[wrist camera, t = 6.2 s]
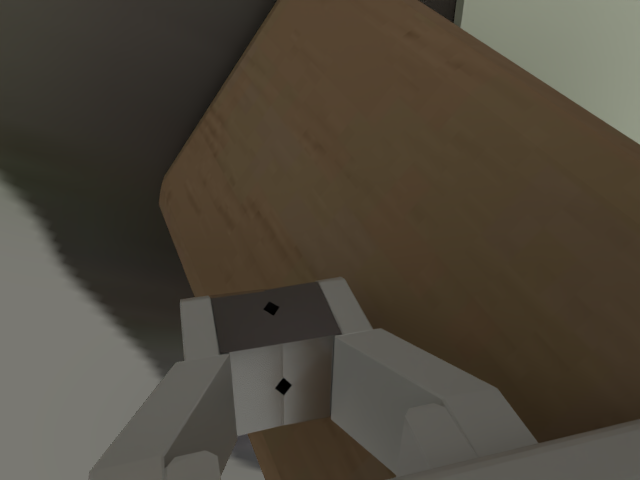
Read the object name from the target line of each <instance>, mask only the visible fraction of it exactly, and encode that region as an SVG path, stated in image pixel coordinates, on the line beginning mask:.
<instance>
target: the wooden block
mask: <svg viewBox="0 0 640 480" xmlns="http://www.w3.org/2000/svg"><path fill="white" fill-rule="evenodd" d="M159 206H160V209H161V212H162V214H163V217H164V219H165V222H166V224H167V227H168V230H169V232H170V235H171V237H172V240H173V243H174V245H175V248H176V250H177V253H178V255H179V258H180V261H181V263H182V266H183V268H184V271H185V274H186V276H187V279H188V281H189V284H190V286H191V289H192V292H193V294H194V297H201V296H209V297H210V295H217V294H226V293H234V292H242V291H251V290H259V289H271V288H277V287H284V286H291V285H297V284H304V283H310V282H315V281H318V280H324V279H330V278H336V277H342V278H344V279H345V280H346V282H347V284H348V285H349V287H350V289H351V291H352V292H353V294H354V296H355V298H356V300H357V301H358V303H359V305H360V307H361V308H362V310H363V312H364V314H365V315H366V317H367V319H368V321H369V323H370V324H371V326H372V328H373V329H379V328H382V329H383V330H385V331H387V332H389V333H391V334H393V335H395V336H397V337H399V338H401V339H403V340H405V341H407V342H409V343H411V344H413V345H414V346H416V347H418V348H420V349H422V350H424V351H426V352H428V353H430V354H432V355H434V356H436V357H438V358H440V359H442V360H444V361H445V362H447V363H449V364H451V365H453V366H455V367H457V368H459V369H461V370H463V371H465V372H467V373H469V374H471V375H473V376H475V377H476V378H478V379H480V380H482V381H484V382H486V383H488V384H490V385H492V386H494V387H496V388H498V390H499V391H500V392H501V394H502V395H503V396H504V398H505V399H506V400H507V402H508V403H509V404H510V406H511V407H512V408H513V410H514V411H515V412H516V414H517V415H518V416H519V418H520V419H521V420H522V422H523V423H524V424H525V426H526V427H527V428H528V430H529V431H530V432H531V434H532V435H533V436H534V438H535V439H536V440H537V442H538V443H541V442H545V441H549V440H554V439H558V438H562V437H566V436H570V435H574V434H579V433H583V432H587V431H591V430H595V429H599V428H604V427H608V426H612V425H616V424H620V423H624V422H628V421H633V420H637V419H640V144H638V143H637V142H635V141H634V140H632V139H630V138H629V137H627V136H626V135H624V134H623V133H621V132H620V131H618V130H617V129H615V128H614V127H612V126H610V125H609V124H607V123H606V122H604V121H603V120H601V119H600V118H598V117H597V116H595V115H594V114H592V113H591V112H589V111H587V110H586V109H584V108H583V107H581V106H580V105H578V104H577V103H575V102H574V101H572V100H571V99H569V98H567V97H566V96H564V95H563V94H561V93H560V92H558V91H557V90H555V89H554V88H552V87H551V86H549V85H547V84H546V83H544V82H543V81H541V80H540V79H538V78H537V77H535V76H534V75H532V74H531V73H529V72H527V71H526V70H524V69H523V68H521V67H520V66H518V65H517V64H515V63H514V62H512V61H511V60H509V59H508V58H506V57H504V56H503V55H501V54H500V53H498V52H497V51H495V50H494V49H492V48H491V47H489V46H488V45H486V44H484V43H483V42H481V41H480V40H478V39H477V38H475V37H474V36H472V35H471V34H469V33H468V32H466V31H464V30H463V29H461V28H460V27H458V26H457V25H455V24H454V23H452V22H451V21H449V20H448V19H446V18H444V17H443V16H441V15H440V14H438V13H437V12H435V11H434V10H432V9H431V8H429V7H428V6H426V5H424V4H423V3H421V2H420V1H418V0H277V1H276V3H275V4H274V6H273V8H272V9H271V11H270V12H269V14H268V15H267V17H266V18H265V20H264V22H263V23H262V25H261V26H260V28H259V29H258V31H257V32H256V34H255V36H254V37H253V39H252V40H251V42H250V43H249V45H248V46H247V48H246V50H245V51H244V53H243V54H242V56H241V57H240V59H239V60H238V62H237V64H236V65H235V67H234V68H233V70H232V71H231V73H230V75H229V76H228V78H227V79H226V81H225V82H224V84H223V85H222V87H221V89H220V90H219V92H218V93H217V95H216V96H215V98H214V99H213V101H212V103H211V104H210V106H209V107H208V109H207V110H206V112H205V113H204V115H203V117H202V118H201V120H200V121H199V123H198V124H197V126H196V127H195V129H194V131H193V132H192V134H191V135H190V137H189V138H188V140H187V142H186V143H185V145H184V146H183V148H182V149H181V151H180V152H179V154H178V156H177V157H176V159H175V160H174V162H173V163H172V165H171V166H170V168H169V170H168V171H167V173H166V174H165V176H164V178H163V182H162V185H161V191H160V198H159ZM248 436H249V439H250V441H251V444H252V447H253V449H254V452H255V454H256V457H257V459H258V462H259V465H260V467H261V470H262V472H263V475H264V478H265V480H387V479H391V478H395V477H396V475H395V474H394V473H393V472H392V471H391V470H390V469H388V468H387V467H386V466H385V465H384V464H383V463H381V462H380V461H379V460H378V459H377V458H376V457H374V456H373V455H372V454H371V453H370V452H369V451H367V450H366V449H365V448H364V447H363V446H362V445H360V444H359V443H358V442H357V441H356V440H355V439H353V438H352V437H351V436H350V435H349V434H348V433H346V432H345V431H344V430H343V429H342V428H341V427H339V426H338V425H337V424H336V423H335V422H334V421H332V420H331V417H328V418H322V419H316V420H311V421H305V422H299V423H294V424H288V425H283V426H278V427H274V428H270V429H265V430H261V431H257V432H252V433H248Z"/></svg>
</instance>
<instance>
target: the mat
mask: <svg viewBox="0 0 640 480" xmlns="http://www.w3.org/2000/svg"><path fill="white" fill-rule="evenodd" d="M454 24H455V25H457V26H458V27H460V28H461V29H463V30H464V31H466V32H468V33H469V34H471V35H472V36H474V37H475V38H477V39H478V40H480V41H481V42H483V43H484V44H486V45H488V46H489V47H491V48H492V49H494V50H495V51H497V52H498V53H500V54H501V55H503V56H504V57H506V58H508V59H509V60H511V61H512V62H514V63H515V64H517V65H518V66H520V67H521V68H523V69H524V70H526V71H527V72H529V73H531V74H532V75H534V76H535V77H537V78H538V79H540V80H541V81H543V82H544V83H546V84H547V85H549V86H551V87H552V88H554V89H555V90H557V91H558V92H560V93H561V94H563V95H564V96H566V97H567V98H569V99H571V100H572V101H574V102H575V103H577V104H578V105H580V106H581V107H583V108H584V109H586V110H587V111H589V112H591V113H592V114H594V115H595V116H597V117H598V118H600V119H601V120H603V121H604V122H606V123H607V124H609V125H610V126H612V127H614V128H615V129H617V130H618V131H620V132H621V133H623V134H624V135H626V136H627V137H629V138H630V139H632V140H634V141H635V142H637V143H638V144H640V0H457V1H456V9H455V16H454Z"/></svg>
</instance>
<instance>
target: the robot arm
mask: <svg viewBox="0 0 640 480" xmlns="http://www.w3.org/2000/svg"><path fill="white" fill-rule="evenodd" d="M180 312H181V325H182V337H183V350H184V361H181V362H176V363H175V364H174V365H173V367H172V368H171V369H170V370H169V372H168V373H167V374H166V375H165V377H164V378H163V379H162V380H161V382H160V383H159V384H158V386H157V387H156V388H155V389H154V391H153V392H152V393H151V394H150V396H149V397H148V398H147V399H146V401H145V402H144V403H143V405H142V406H141V407H140V408H139V410H138V411H137V412H136V413H135V415H134V416H133V417H132V419H131V420H130V421H129V422H128V424H127V425H126V426H125V428H124V429H123V430H122V431H121V432H120V434H119V435H118V436H117V438H116V439H115V440H114V441H113V443H112V444H111V445H110V446H109V448H108V449H107V450H106V451H105V453H104V454H103V455H102V457H101V458H100V459H99V460H98V462H97V463H96V464H95V465H94V467H93V468H92V469H91V471H90V472H89V480H221V478H220V477H221V474H222V472H223V470H224V468H225V466H226V463H227V461H228V459H229V457H230V454H231V452H232V450H233V448H234V445H235V443H236V441H237V436H240V435H244V434H248V433H252V432H257V431H261V430H265V429H270V428H274V427H278V426H283V425H288V424H294V423H299V422H305V421H311V420H316V419H322V418H328V417H331V420H332V421H334V422H335V423H336V424H337V425H338V426H339V427H341V428H342V429H343V430H344V431H345V432H346V433H348V434H349V435H350V436H351V437H352V438H353V439H355V440H356V441H357V442H358V443H359V444H360V445H362V446H363V447H364V448H365V449H366V450H367V451H369V452H370V453H371V454H372V455H373V456H374V457H376V458H377V459H378V460H379V461H380V462H381V463H383V464H384V465H385V466H386V467H387V468H388V469H390V470H391V471H392V472H393V473H394V474H395V475H396V477H395V478H391V479H387V480H640V419H637V420H633V421H628V422H624V423H620V424H616V425H612V426H608V427H604V428H599V429H595V430H591V431H587V432H583V433H579V434H574V435H570V436H566V437H562V438H558V439H554V440H549V441H545V442H541V443H538V442H537V440H536V439H535V438H534V436H533V435H532V434H531V432H530V431H529V430H528V428H527V427H526V426H525V424H524V423H523V422H522V420H521V419H520V418H519V416H518V415H517V414H516V412H515V411H514V410H513V408H512V407H511V406H510V404H509V403H508V402H507V400H506V399H505V398H504V396H503V395H502V394H501V392H500V391H499V390H498V388H496V387H494V386H492V385H490V384H488V383H486V382H484V381H482V380H480V379H478V378H476V377H475V376H473V375H471V374H469V373H467V372H465V371H463V370H461V369H459V368H457V367H455V366H453V365H451V364H449V363H447V362H445V361H444V360H442V359H440V358H438V357H436V356H434V355H432V354H430V353H428V352H426V351H424V350H422V349H420V348H418V347H416V346H414V345H413V344H411V343H409V342H407V341H405V340H403V339H401V338H399V337H397V336H395V335H393V334H391V333H389V332H387V331H385V330H383V329H382V328H379V329H373V328H372V326H371V324H370V323H369V321H368V319H367V317H366V315H365V314H364V312H363V310H362V308H361V307H360V305H359V303H358V301H357V300H356V298H355V296H354V294H353V292H352V291H351V289H350V287H349V285H348V284H347V282H346V280H345V279H344V278H342V277H336V278H330V279H324V280H318V281H315V282H310V283H304V284H297V285H291V286H284V287H277V288H271V289H259V290H251V291H242V292H234V293H226V294H217V295H210V297H209V296H201V297H194V298H187V299H181V301H180Z"/></svg>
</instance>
